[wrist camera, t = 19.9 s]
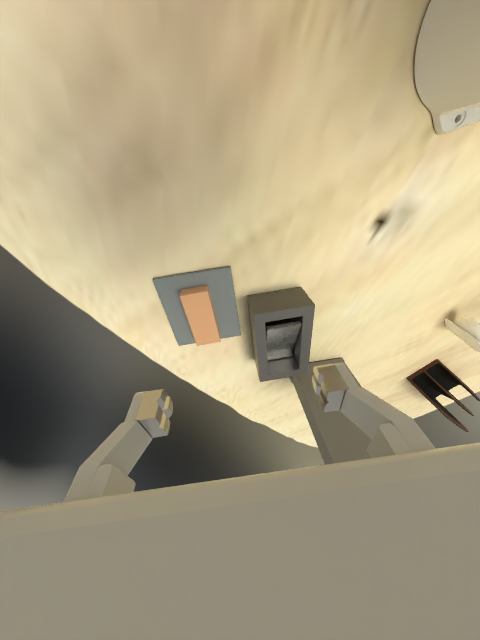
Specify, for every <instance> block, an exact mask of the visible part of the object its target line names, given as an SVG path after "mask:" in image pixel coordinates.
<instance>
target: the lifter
mask: <svg viewBox="0 0 480 640" xmlns="http://www.w3.org/2000/svg"><path fill="white" fill-rule="evenodd" d="M300 327H301V322H300V321H297V322H291V323H285V324H279V325H273V326H267V327H266V345H267V361H269V360H275V359H281V358H286V357H292V356H293V354H292V350H293V347H294V344H295V341H296V338H297V336H298V333H299V330H300ZM286 352H287V353H286ZM280 353H281V354H280ZM274 354H275V355H274ZM269 355H270V356H269Z"/></svg>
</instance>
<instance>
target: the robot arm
mask: <svg viewBox="0 0 480 640" xmlns="http://www.w3.org/2000/svg"><path fill="white" fill-rule="evenodd" d="M415 82H416V88H417V91H418V94H419V96H420V99H421V100H422V102H423V103H424V105H425V106H426V107H427V108H428V109H429V110H430V112H431V114H432V117H433V123H434V128H435V131H436V133H437V134H439V135H440V134H445V133H448V132H451V131H453V130H456V129H458V128H461V127H464V126H466V125H469V124H472V123H474V122H477V121H479V120H480V0H431V2H430V4H429V6H428V9H427V11H426V14H425V17H424V20H423V23H422V26H421V30H420V34H419V38H418V42H417V48H416V54H415ZM455 118H456V121H455ZM313 372H314V375H313V376H312V383H313V387H314V390H315V393H316V394H317V395H319V396H320V397H319V402H320V404H321V407H322V409H323V411H324V412H331V411H339V410H340V412H342V413H343V414H344V415H345V416H346V417H347V418H348V419H349V420H351V421H352V422H353V423H354V424H355V425H356V426H357V427H359V428H360V429H361V430H362V431H363V432H364V433H365V434H366V435H368V436H369V437H370V438H371V439H372V441H371V442H370V444H369V446H368V448H367V452H368V454H369V456H370V458H369V459H362V460H355V461H348V462H341V463H334V464H327V465H320V466H313V467H307V468H299V469H293V470H285V471H278V472H272V473H264V474H257V475H251V476H243V477H236V478H229V479H222V480H216V481H208V482H202V483H194V484H187V485H181V486H174V487H167V488H160V489H153V490H147V491H139V492H133V491H134V487H135V482H134V481H133V480H132V479H130V478H129V477H128V476H127V475H128V474H129V473H130V471H131V470H132V468H133V467H134V465H135V464H136V462H137V461H138V459H139V458H140V456H141V455H142V453H143V452H144V450H145V449H146V447H147V446H148V445H149V443H150V442H151V440H152V438H154V437H160V436H166V435H168V432H169V426H170V421H169V420H168V419H169V417H170V416H171V415H172V410H173V405H172V400H171V398H170V397H168V396H167V391H166V390H165V389H163V390H155V391H147V392H140V393H136V394H135V395H134V397H133V400H132V403H131V406H130V408H129V411H128V414H127V417H126V419H125V422H124V423H121V424H120V425H119V426H118V428H117V429H115V431H114V432H113V433H112V434H111V435H110V436H109V437H108V438H107V439H106V440H105V441H104V442H103V443H102V444H101V445H100V446H99V447H98V449H96V450H95V452H94V453H93V454H92V455H91V456H90V457H89V458H88V459H87V460H86V461H85V462H84V463H83V464H82V465H81V466H80V467H79V470H78V472H77V474H76V476H75V479H74V480H73V483H72V485H71V487H70V489H69V491H68V493H67V496H66V498H65V500H64V502H62V503H56V504H48V505H41V506H34V507H28V508H21V509H15V510H7V511H0V640H480V443H474V444H467V445H460V446H453V447H447V448H439V449H435V447H434V446H433V445H432V443H431V442H430V441H429V440H428V438H427V437H426V436H425V435H424V433H423V432H422V430H421V429H420V428H419V427H418V425H417V424H416V422H415V421H414V420H413V419H412V418H411V417H409V416H407V415H406V414H404V413H403V412H401V411H399V410H398V409H396V408H395V407H393V406H391V405H390V404H388V403H387V402H385V401H383V400H382V399H380V398H379V397H377V396H376V395H374V394H372V393H371V392H369V391H368V390H366V389H364V388H360V387H359V386H358V384H357V382H356V381H355V379H354V378H353V376H352V375H351V373H350V371H349V370H348V368H347V367H346V365H345V364H344V363H343V362H341V363H334V364H326V365H320V366H315V367H314V368H313Z"/></svg>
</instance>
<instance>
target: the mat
mask: <svg viewBox="0 0 480 640" xmlns="http://www.w3.org/2000/svg"><path fill="white" fill-rule="evenodd" d="M153 282H154V285H155V287H156V290H157V292H158V295H159V297H160V300H161V302H162V305H163V307H164V310H165V312H166V315H167V317H168V320H169V322H170V325H171V327H172V330H173V332H174V335H175V337H176V340H177V342H178V345H179V346H180V345H186V344H192V343H196V341H195V338H194V336H193V333H192V330H191V327H190V324H189V321H188V319H187V316H186V313H185V310H184V307H183V305H182V302H181V299H180V292H181V290H182V289H188V288H193V287H199V286H204V285H208V288H209V292H210V296H211V300H212V304H213V308H214V312H215V316H216V320H217V323H218V327H219V331H220V339H222V338H228V337H234V336H240V335H241V332H240V325H239V319H238V312H237V306H236V299H235V293H234V286H233V280H232V273H231V267H230V266H227V267H220V268H214V269H208V270H202V271H196V272H189V273H183V274H177V275H171V276H164V277H158V278H154V279H153Z"/></svg>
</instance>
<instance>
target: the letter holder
mask: <svg viewBox="0 0 480 640" xmlns="http://www.w3.org/2000/svg"><path fill="white" fill-rule="evenodd" d="M407 379H408V381H409V382H411V383H412V384H413V385H414V386H415V387H416V388H417V389H418V390H419V391H420V392H421V393H422V395H423V396H424V397H426V398H427V399H428V400H429V401H430V402H431V403H432V404H433V405H434V406H435V407H436V408H437V409H438V410H439V411H440V412H441V413H442V414H443V415H444V416H445V417H446V418H448V419H449V420H450V421H452V422H453V423H455V424H456V425H457V426H458V427H460V428H461V429H463V430H464V431H466V432H468V430H467V429H466V428H465V427H464V426H463V425H462V424H461V423H460V422H459V421H458V420H457V419H456V418H455V417H454V416H453V415H452V414H451V413H450V412H448V410H447V409H445V408H444V407H443V406H442V405H441V404H440V403H439V402H438V401H437V400H436V399H435V398H436V397H437V396H439V395H441V394H442V395H444V396H446V397H448V398H450V399H452V400H454V401H455V402H456V403H457V404H458V405H460V406H461V407H462V408H463V409H464V410H466V411H467V412H468V413H469V414H471V415H472V416H474V414H473V413H472V412H471V411H469V410H468V409H467V408H466V407H465V406H464V405H463V404H462V403H461V402H460V401H458V400H457V399H456V398H455V397H454V396H453V395H452V394H451V393H450V392H449V390H450V389H452V388H453V387H455V386H457V385H462V386H463V387H464V388H465V389H466V390H467V391H468V392H469V393H471V394H472V395H473V396H474V397H475V398H476V399H477V400H478V401H480V399H479V398H478V397H477V395H476V394H475V393H474V392H473V391H472V390H471V389H470V388H469V387H468V386H467V385H465V384H464V383H463V382H462V381H461V380H460V379H459V378H458V377H457V376H456V375H455V374H453V373H452V372H451V371H450V370H449V369H448V368H447V367H446V366H445V365H443V364H442V363H441V362H440V361H439V360H437V359H436V360H435V361H433V362H432V363H430V364H428V365H427V366H425V367H423V368H422V369H420V370H419V371H417V372H415V373H414V374H412V375H410V376H409V377H407Z"/></svg>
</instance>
